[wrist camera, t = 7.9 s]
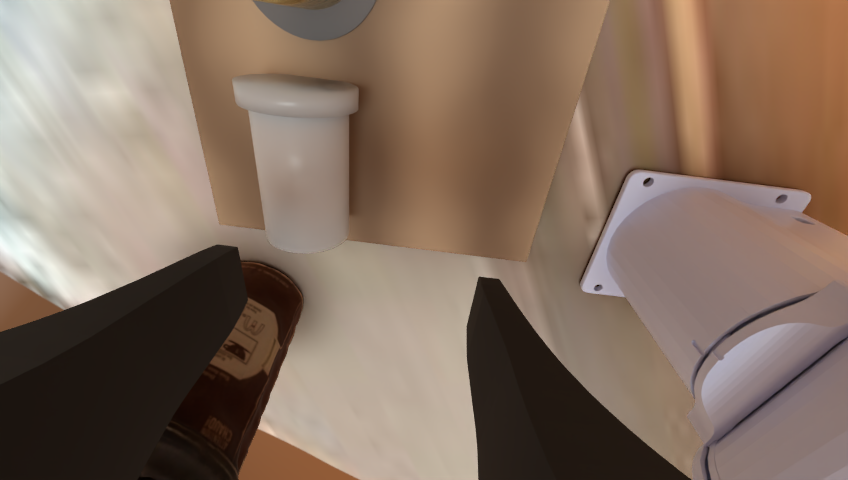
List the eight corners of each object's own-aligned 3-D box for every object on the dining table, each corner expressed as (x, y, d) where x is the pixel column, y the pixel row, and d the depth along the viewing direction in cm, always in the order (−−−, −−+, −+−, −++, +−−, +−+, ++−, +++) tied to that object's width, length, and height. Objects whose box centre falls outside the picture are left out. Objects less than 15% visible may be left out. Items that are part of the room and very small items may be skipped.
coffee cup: (185, 231, 22) (-89, 440, 11) (317, 251, 22) (184, 476, 11) (209, 330, 26) (36, 550, 15) (319, 345, 26) (227, 573, 15)
